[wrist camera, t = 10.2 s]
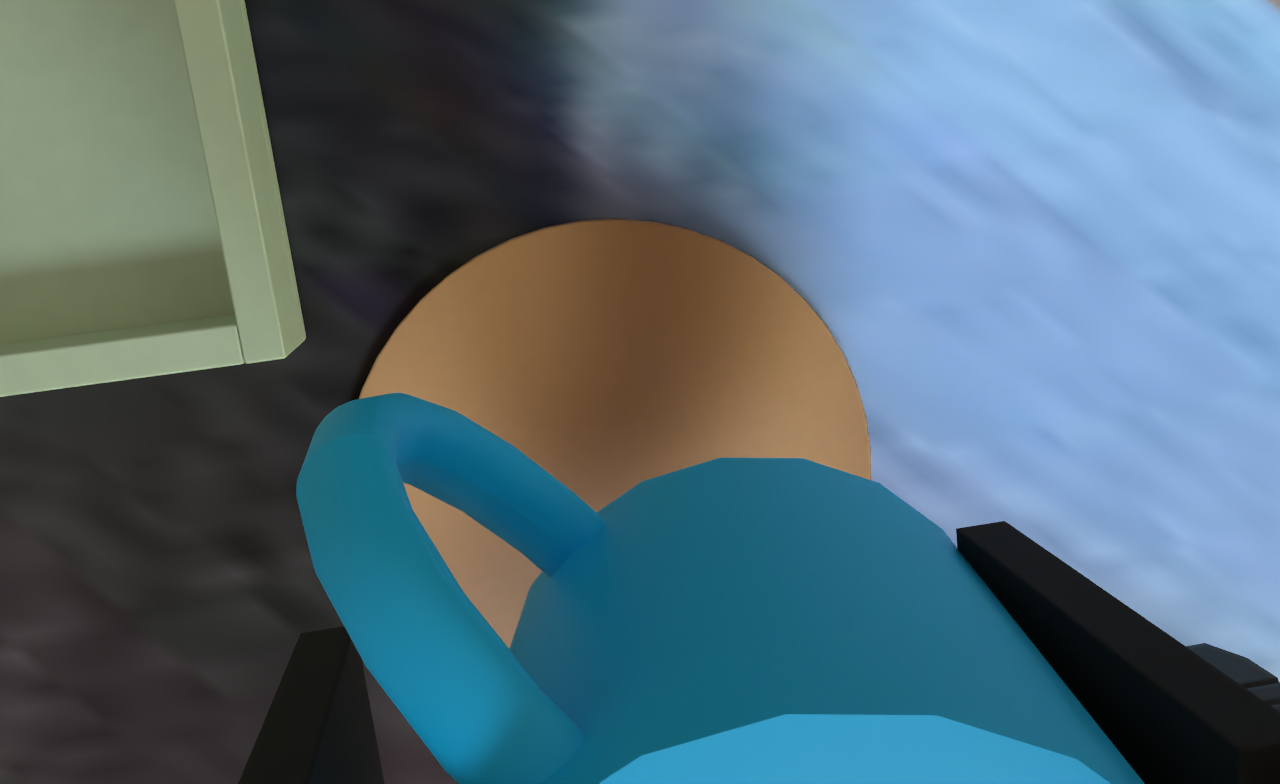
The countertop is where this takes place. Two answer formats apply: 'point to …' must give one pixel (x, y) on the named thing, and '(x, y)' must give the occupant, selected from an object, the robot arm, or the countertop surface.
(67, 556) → the countertop surface
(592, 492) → the coaster
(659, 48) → the countertop surface
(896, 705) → the mug
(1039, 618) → the robot arm
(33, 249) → the tray
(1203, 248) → the countertop surface
